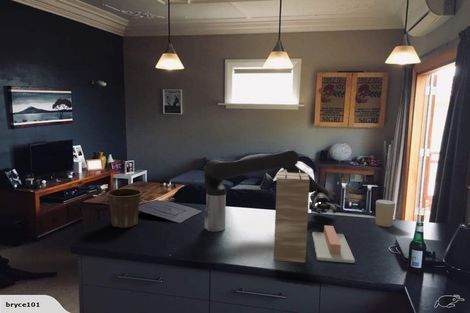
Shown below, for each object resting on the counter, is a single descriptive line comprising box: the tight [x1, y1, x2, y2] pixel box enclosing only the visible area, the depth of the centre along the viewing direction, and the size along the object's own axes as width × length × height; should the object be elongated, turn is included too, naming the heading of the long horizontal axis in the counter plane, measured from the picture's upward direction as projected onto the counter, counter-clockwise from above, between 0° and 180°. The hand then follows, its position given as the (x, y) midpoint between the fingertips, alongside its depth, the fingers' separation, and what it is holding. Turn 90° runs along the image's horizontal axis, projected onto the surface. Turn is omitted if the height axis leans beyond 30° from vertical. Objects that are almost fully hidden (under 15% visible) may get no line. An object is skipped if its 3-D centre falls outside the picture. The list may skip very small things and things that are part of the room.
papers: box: [139, 199, 203, 224], centre depth 199 cm, size 24×30×4 cm
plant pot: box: [106, 188, 143, 229], centre depth 178 cm, size 16×16×16 cm
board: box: [311, 231, 356, 264], centre depth 155 cm, size 30×14×1 cm, turn 172°
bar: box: [323, 225, 341, 255], centre depth 156 cm, size 24×4×4 cm, turn 172°
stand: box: [273, 170, 310, 264], centre depth 145 cm, size 14×12×33 cm
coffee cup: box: [375, 199, 396, 228], centre depth 188 cm, size 9×9×12 cm
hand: (325, 210), depth 173 cm, fingers open, 8 cm apart
